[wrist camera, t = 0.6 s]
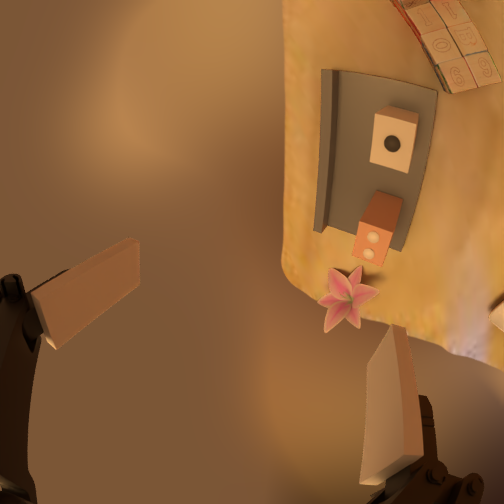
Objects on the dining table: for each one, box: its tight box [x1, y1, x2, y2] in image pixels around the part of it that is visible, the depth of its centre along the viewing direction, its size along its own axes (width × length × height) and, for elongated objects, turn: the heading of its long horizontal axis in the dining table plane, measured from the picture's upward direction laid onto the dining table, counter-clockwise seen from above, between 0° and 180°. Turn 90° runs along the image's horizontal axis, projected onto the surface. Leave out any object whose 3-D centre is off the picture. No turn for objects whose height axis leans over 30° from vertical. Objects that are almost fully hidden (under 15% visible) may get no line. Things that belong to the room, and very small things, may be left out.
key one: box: [370, 105, 419, 173], centre depth 24 cm, size 5×4×9 cm
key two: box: [352, 190, 403, 267], centre depth 31 cm, size 5×4×9 cm
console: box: [313, 69, 437, 252], centre depth 31 cm, size 24×14×4 cm, turn 4°
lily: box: [318, 265, 380, 333], centre depth 45 cm, size 12×12×10 cm
